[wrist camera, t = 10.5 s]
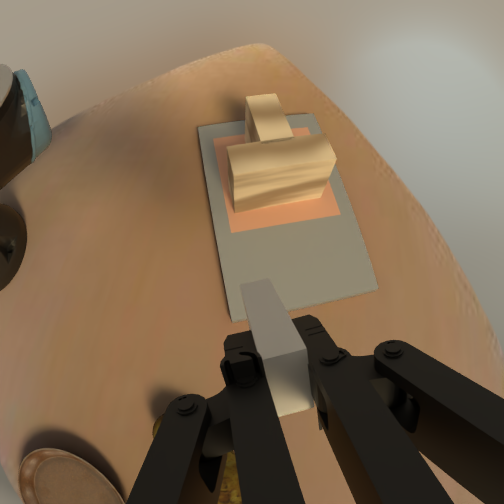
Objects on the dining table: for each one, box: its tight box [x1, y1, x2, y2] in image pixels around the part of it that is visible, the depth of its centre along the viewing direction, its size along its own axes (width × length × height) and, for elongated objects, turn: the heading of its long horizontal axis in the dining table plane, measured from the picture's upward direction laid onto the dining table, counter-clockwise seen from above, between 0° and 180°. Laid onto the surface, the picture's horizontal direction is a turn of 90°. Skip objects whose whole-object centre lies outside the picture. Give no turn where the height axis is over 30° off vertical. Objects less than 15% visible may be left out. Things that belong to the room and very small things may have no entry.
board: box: [198, 114, 379, 323], centre depth 44 cm, size 30×19×2 cm, turn 12°
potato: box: [152, 414, 242, 504], centre depth 29 cm, size 8×13×8 cm, turn 23°
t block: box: [227, 93, 337, 213], centre depth 41 cm, size 12×12×9 cm
